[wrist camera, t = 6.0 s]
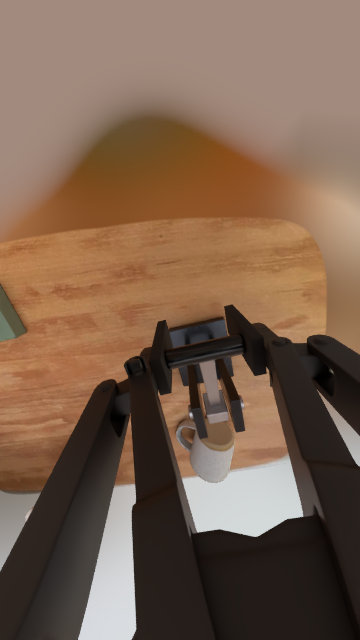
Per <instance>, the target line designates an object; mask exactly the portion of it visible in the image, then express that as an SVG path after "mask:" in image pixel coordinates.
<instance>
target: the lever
mask: <svg viewBox="0 0 360 640" xmlns="http://www.w3.org/2000/svg"><path fill="white" fill-rule="evenodd" d="M245 353H246V344H245V341H244V338H243V336H242V335H241V334H240V333H239V334H234V335H230V336H225V337H221V338H216V339H211V340H207V341H202V342H198V343H193V344H189V345H184V346H180V347H175V348H171V349H166V350H165V361H166V365H167V367H168V369H175V368H180V367H185V366H189V365H194V364H200V368H201V372H202V376H203V380H204V384H205V388H206V392H207V393H203V399H204V404H205V409H206V414H207V418H208V421H209V423H210V424H212V423H217V422H222V421H227V420H229V419H228V410H227V406H226V403H225V399H224V396H223V392H222V390H219V389H218V382H217V375H216V368H215V361H214V360H217V359H222V358H227V357H232V356H236V355H241V354H245Z"/></svg>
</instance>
